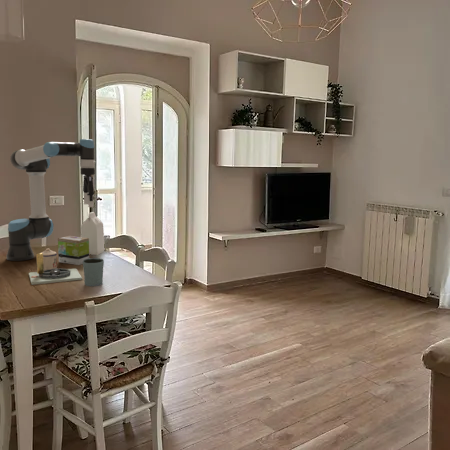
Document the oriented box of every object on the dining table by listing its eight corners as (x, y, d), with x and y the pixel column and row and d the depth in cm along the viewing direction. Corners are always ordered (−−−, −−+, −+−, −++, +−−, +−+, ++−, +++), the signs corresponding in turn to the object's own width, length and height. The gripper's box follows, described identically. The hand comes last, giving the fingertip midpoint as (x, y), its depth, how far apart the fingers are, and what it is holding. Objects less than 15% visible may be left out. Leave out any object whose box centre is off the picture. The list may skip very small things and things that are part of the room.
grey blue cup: (96, 280, 240) (95, 257, 238) (108, 283, 234) (108, 260, 232) (79, 284, 232) (78, 260, 230) (91, 288, 226) (90, 263, 224)
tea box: (58, 262, 275) (57, 238, 272) (69, 259, 284) (68, 235, 282) (78, 265, 269) (78, 240, 267) (90, 261, 278) (89, 237, 276)
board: (28, 274, 247) (28, 272, 247) (76, 270, 258) (75, 268, 258) (31, 284, 230) (31, 282, 229) (82, 279, 240) (82, 277, 240)
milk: (88, 250, 310) (87, 211, 306) (104, 250, 309) (104, 211, 304) (80, 254, 298) (78, 213, 294) (97, 254, 297) (96, 214, 293)
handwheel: (71, 270, 253) (70, 249, 251) (69, 277, 238) (68, 256, 236) (39, 271, 249) (38, 250, 247) (35, 279, 234) (34, 257, 232)
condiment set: (56, 270, 257) (56, 250, 255) (39, 271, 254) (38, 250, 252) (58, 265, 268) (57, 245, 266) (41, 266, 266) (40, 246, 264)
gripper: (99, 168, 250) (100, 207, 253) (90, 166, 272) (91, 203, 275) (84, 168, 247) (85, 208, 250) (77, 166, 269) (78, 203, 272)
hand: (88, 205), depth 263 cm, fingers open, 13 cm apart
